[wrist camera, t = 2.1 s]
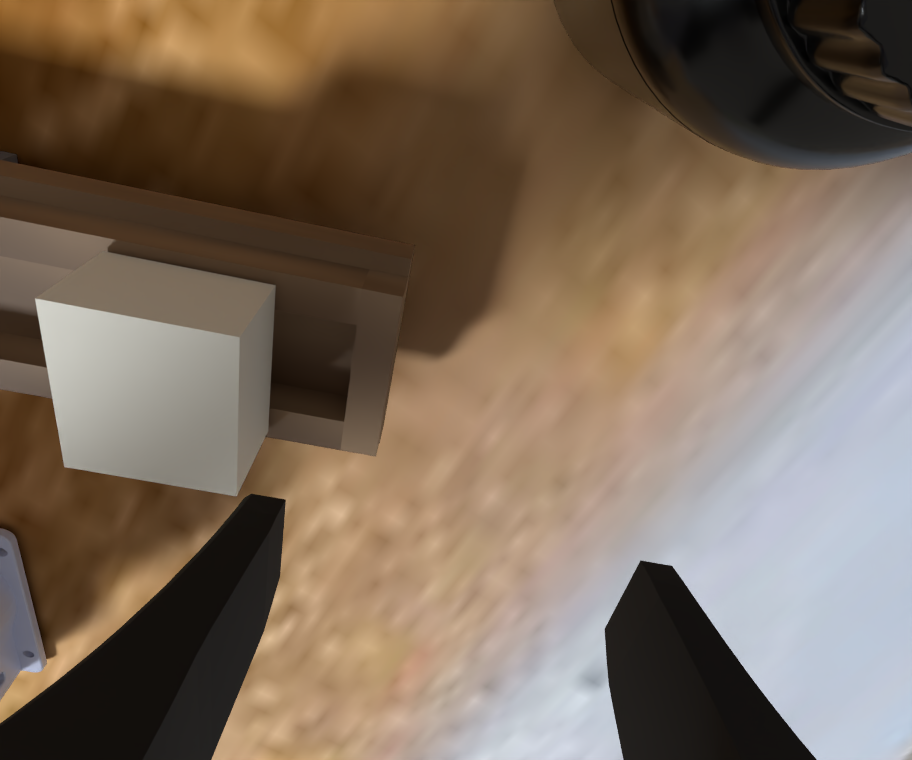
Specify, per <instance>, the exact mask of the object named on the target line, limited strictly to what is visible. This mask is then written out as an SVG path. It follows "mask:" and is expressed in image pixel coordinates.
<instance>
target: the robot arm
mask: <svg viewBox="0 0 912 760" xmlns="http://www.w3.org/2000/svg"><path fill="white" fill-rule="evenodd" d="M285 502H286V500H284V499H279V498H273V497H267V496H261V495H255V494H250V495H248V496H247V497H245V498H244V499H243V500H242V502H241V503H240V504H239V506H238V507H237V508H236V509H235V511H234V512H233V513H232V514H231V515H230V517H229V518H228V519H227V520H226V521H225V523H224V524H223V525H222V526H221V527H220V528H219V529H218V531H217V532H216V533H215V534H214V535H213V536H212V537H211V538H210V540H209V541H208V542H207V543H206V544H205V545H204V546H203V547H202V548H201V549H200V551H199V552H198V553H197V554H196V555H195V556H194V557H193V558H192V559H191V560H190V561H189V562H188V563H187V564H186V565H185V566H184V567H183V568H182V569H181V570H180V571H179V572H178V573H177V574H176V575H175V576H174V577H173V578H172V579H171V581H170V582H169V583H168V584H167V585H166V586H165V587H164V588H162V589H161V590H160V591H159V592H158V593H157V594H156V595H155V596H154V597H153V598H152V599H151V600H150V601H149V602H148V603H147V604H146V605H144V606H143V607H142V608H141V609H140V610H139V611H138V612H137V613H136V614H135V615H134V616H133V617H132V618H130V619H129V620H128V621H127V622H126V623H125V624H124V625H123V626H122V627H121V628H120V629H119V630H117V631H116V632H115V633H114V634H113V635H112V636H111V637H109V638H108V639H107V640H106V641H105V642H104V643H102V644H101V645H100V646H99V647H98V648H97V649H95V650H94V651H93V652H92V653H91V654H89V655H88V656H87V657H86V658H85V659H83V660H82V661H81V662H80V663H79V664H77V665H76V666H75V667H74V668H72V669H71V670H70V671H69V672H67V673H66V674H65V675H64V676H63V677H61V678H60V679H59V680H57V681H56V682H55V683H54V684H52V685H51V686H50V687H48V688H47V689H46V690H44V691H43V692H42V693H40V694H39V695H38V696H36V697H35V698H34V699H32V700H31V701H30V702H29V703H27V704H26V705H25V706H23V707H22V708H21V709H19V710H18V711H17V712H15V713H14V714H13V715H11V716H10V717H9V718H7V719H6V720H4V721H3V722H2V723H0V760H211V759H212V756H213V754H214V751H215V749H216V746H217V744H218V742H219V739H220V737H221V734H222V732H223V729H224V727H225V725H226V722H227V720H228V717H229V715H230V712H231V710H232V708H233V705H234V703H235V700H236V698H237V695H238V693H239V691H240V688H241V686H242V683H243V681H244V678H245V676H246V674H247V671H248V669H249V666H250V664H251V661H252V659H253V656H254V654H255V652H256V649H257V647H258V644H259V642H260V639H261V637H262V634H263V632H264V629H265V625H266V622H267V619H268V615H269V612H270V609H271V605H272V602H273V598H274V595H275V591H276V588H277V584H278V581H279V578H280V568H281V555H282V541H283V528H284V515H285ZM605 640H606V656H607V668H608V679H609V687H610V693H611V698H612V703H613V709H614V714H615V719H616V724H617V729H618V734H619V739H620V744H621V749H622V754H623V759H624V760H816V758H815V757H814V756H813V755H812V754H811V752H810V751H809V750H808V749H807V748H806V747H805V745H804V744H803V743H802V742H801V741H800V739H799V738H798V737H797V736H796V734H795V733H794V732H793V731H792V729H791V728H790V727H789V726H788V724H787V723H786V722H785V721H784V719H783V718H782V717H781V716H780V714H779V713H778V712H777V711H776V709H775V708H774V707H773V706H772V704H771V703H770V702H769V701H768V699H767V698H766V697H765V695H764V694H763V693H762V691H761V690H760V689H759V687H758V686H757V685H756V684H755V682H754V681H753V680H752V678H751V677H750V675H749V674H748V673H747V671H746V670H745V669H744V667H743V666H742V665H741V663H740V662H739V661H738V659H737V658H736V656H735V655H734V654H733V652H732V651H731V649H730V648H729V647H728V645H727V644H726V642H725V641H724V640H723V638H722V637H721V635H720V634H719V633H718V631H717V630H716V628H715V627H714V625H713V624H712V622H711V621H710V620H709V618H708V617H707V615H706V614H705V612H704V611H703V610H702V608H701V607H700V605H699V604H698V602H697V601H696V599H695V598H694V597H693V595H692V594H691V592H690V591H689V589H688V588H687V586H686V585H685V584H684V582H683V581H682V579H681V578H680V576H679V575H678V574H677V572H676V571H675V569H674V568H673V567H672V566H669V565H663V564H657V563H651V562H646V561H640V563H639V565H638V567H637V568H636V570H635V572H634V574H633V576H632V578H631V580H630V582H629V584H628V586H627V588H626V589H625V591H624V593H623V595H622V597H621V599H620V601H619V603H618V605H617V607H616V609H615V610H614V612H613V614H612V616H611V618H610V620H609V622H608V624H607V626H606V628H605ZM46 664H47V660H46V656H45V652H44V648H43V644H42V640H41V635H40V631H39V627H38V623H37V619H36V615H35V611H34V607H33V603H32V599H31V595H30V591H29V587H28V583H27V579H26V575H25V571H24V567H23V563H22V559H21V555H20V551H19V547H18V543H17V539H16V537H15V535H14V534H13V533H12V532H10V531H8V530H6V529H2V528H0V700H1V699H2V697H3V696H4V694H5V693H6V691H7V690H8V689H9V687H10V686H11V684H12V683H13V681H14V680H15V678H16V677H17V675H18V674H19V672H20V671H21V670H22V671H29V672H40V671H42V670H43V669H44V667H45V666H46Z"/></svg>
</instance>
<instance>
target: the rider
mask: <svg viewBox="0 0 912 760" xmlns="http://www.w3.org/2000/svg"><path fill="white" fill-rule="evenodd" d="M275 289H276V285H272V284H267V283H262V282H257V281H252V280H246V279H241V278H236V277H231V276H226V275H221V274H216V273H211V272H206V271H201V270H196V269H191V268H186V267H181V266H176V265H171V264H166V263H160V262H155V261H150V260H145V259H140V258H135V257H130V256H125V255H120V254H115V253H110V252H105V251H102V252H101V253H99V254H98V255H96V256H95V257H94V258H92V259H91V260H89V261H88V262H86V263H85V264H84V265H82V266H81V267H79V268H78V269H76V270H75V271H73V272H72V273H71V274H69V275H68V276H66V277H65V278H63V279H62V280H61V281H59V282H58V283H56V284H55V285H53V286H52V287H51V288H49V289H48V290H46V291H45V292H43V293H42V294H41V295H39V296H38V297H36V298H35V302H36V307H37V313H38V319H39V325H40V330H41V336H42V342H43V347H44V353H45V359H46V365H47V370H48V376H49V382H50V388H51V393H52V399H53V405H54V411H55V416H56V422H57V428H58V434H59V439H60V445H61V451H62V456H63V462H64V467H67V468H73V469H79V470H85V471H91V472H96V473H102V474H108V475H114V476H120V477H126V478H131V479H137V480H143V481H149V482H155V483H161V484H167V485H172V486H178V487H184V488H190V489H196V490H202V491H207V492H213V493H219V494H225V495H231V496H237V495H238V493H239V491H240V489H241V487H242V484H243V482H244V480H245V478H246V476H247V474H248V472H249V470H250V468H251V466H252V464H253V462H254V460H255V457H256V455H257V453H258V451H259V449H260V447H261V445H262V443H263V441H264V439H265V437H266V435H267V433H268V425H269V406H270V386H271V367H272V347H273V328H274V308H275Z"/></svg>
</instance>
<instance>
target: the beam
mask: <svg viewBox="0 0 912 760" xmlns="http://www.w3.org/2000/svg"><path fill="white" fill-rule="evenodd" d="M414 248H415V245H411V244H407V243H402V242H397V241H392V240H387V239H382V238H377V237H373V236H368V235H363V234H358V233H353V232H348V231H343V230H339V229H334V228H329V227H324V226H319V225H314V224H309V223H305V222H300V221H295V220H290V219H285V218H280V217H275V216H271V215H266V214H261V213H256V212H251V211H246V210H241V209H237V208H232V207H227V206H222V205H217V204H212V203H207V202H203V201H198V200H193V199H188V198H183V197H178V196H173V195H169V194H164V193H159V192H154V191H149V190H144V189H140V188H135V187H130V186H125V185H120V184H115V183H110V182H106V181H101V180H96V179H91V178H86V177H81V176H76V175H72V174H67V173H62V172H57V171H52V170H47V169H42V168H38V167H33V166H28V165H23V164H18V160H17V154H13V153H8V152H3V151H0V389H2V390H7V391H13V392H18V393H24V394H29V395H35V396H41V397H46V398H52V393H51V388H50V382H49V376H48V370H47V365H46V359H45V353H44V347H43V342H42V336H41V330H40V325H39V319H38V313H37V307H36V302H35V298H36V297H38V296H39V295H41V294H42V293H43V292H45V291H46V290H48V289H49V288H51V287H52V286H53V285H55V284H56V283H58V282H59V281H61V280H62V279H63V278H65V277H66V276H68V275H69V274H71V273H72V272H73V271H75V270H76V269H78V268H79V267H81V266H82V265H84V264H85V263H86V262H88V261H89V260H91V259H92V258H94V257H95V256H96V255H98V254H99V253H101V252H102V251H105V252H110V253H115V254H120V255H125V256H130V257H135V258H140V259H145V260H150V261H155V262H160V263H166V264H171V265H176V266H181V267H186V268H191V269H196V270H201V271H206V272H211V273H216V274H221V275H226V276H231V277H236V278H241V279H246V280H252V281H257V282H262V283H267V284H272V285H276V289H275V308H274V328H273V347H272V367H271V386H270V406H269V425H268V433H267V435H266V437H270V438H275V439H281V440H287V441H292V442H298V443H303V444H309V445H314V446H320V447H326V448H331V449H337V450H342V451H348V452H354V453H359V454H365V455H370V456H376V453H377V449H378V445H379V443H380V439H381V434H382V430H383V425H384V420H385V414H386V409H387V403H388V397H389V391H390V386H391V380H392V374H393V368H394V363H395V357H396V351H397V345H398V340H399V334H400V328H401V322H402V317H403V311H404V305H405V299H406V294H407V288H408V282H409V276H410V271H411V265H412V259H413V254H414Z"/></svg>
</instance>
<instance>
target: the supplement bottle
mask: <svg viewBox="0 0 912 760" xmlns="http://www.w3.org/2000/svg"><path fill="white" fill-rule="evenodd" d="M554 4H555V7H556V10H557V12H558V15H559V17H560V20H561V22H562V24H563V26H564V28H565V30H566V32H567V34H568V36H569V38H570V39H571V41H572V42H573V44H574V45H575V47H576V48H577V50H578V51H579V52H580V53H581V55H582V56H583V57H584V58H585V59H586V60H587V61H588V62H589V63H590V64H591V65H592V66H593V67H594V68H595V69H596V70H597V71H598V72H600V73H601V74H602V75H603V76H605V77H606V78H607V79H608V80H610V81H611V82H613V83H614V84H616V85H617V86H619V87H620V88H622V89H624V90H625V91H627V92H628V93H630V94H632V95H633V96H635V97H636V98H638V99H640V100H641V101H643V102H644V103H646V104H648V105H649V106H651V107H652V108H654V109H656V110H657V111H659V112H660V113H662V114H663V115H665V116H667V117H668V118H670V119H671V120H673V121H675V122H676V123H678V124H679V125H681V126H683V127H684V128H686V129H687V130H689V131H691V132H692V133H694V134H695V135H697V136H699V137H700V138H702V139H703V140H705V141H707V142H709V143H711V144H713V145H715V146H717V147H719V148H721V149H723V150H725V151H728V152H730V153H732V154H735V155H738V156H741V157H744V158H746V159H749V160H752V161H755V162H758V163H763V164H767V165H772V166H776V167H782V168H791V169H801V170H830V169H840V168H851V167H857V166H862V165H868V164H873V163H878V162H881V161H885V160H889V159H892V158H896V157H900V156H903V155H906V154H909V153H912V0H554Z"/></svg>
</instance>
